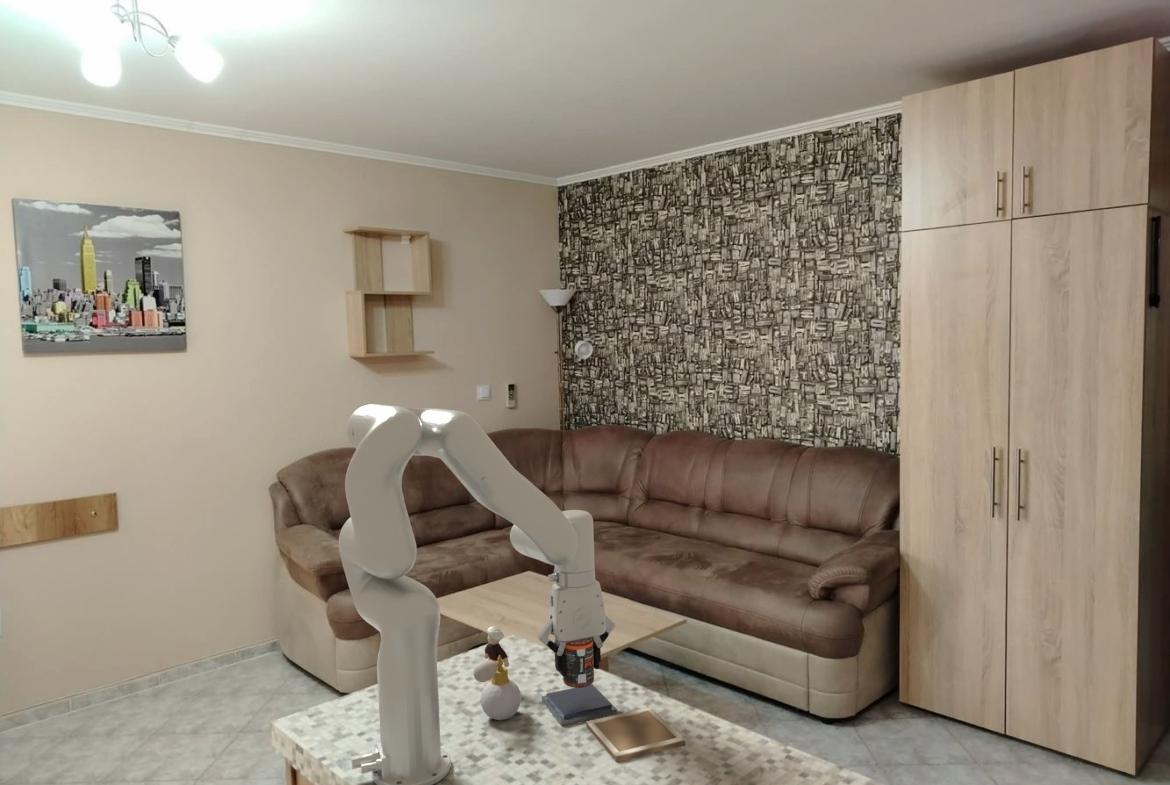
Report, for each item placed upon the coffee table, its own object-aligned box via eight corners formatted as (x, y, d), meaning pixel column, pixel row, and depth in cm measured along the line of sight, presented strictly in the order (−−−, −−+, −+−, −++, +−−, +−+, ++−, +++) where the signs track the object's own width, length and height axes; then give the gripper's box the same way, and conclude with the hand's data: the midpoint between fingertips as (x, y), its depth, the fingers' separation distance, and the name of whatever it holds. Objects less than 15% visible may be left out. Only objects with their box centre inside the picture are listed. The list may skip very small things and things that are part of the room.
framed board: (616, 761, 129) (615, 756, 129) (586, 726, 141) (586, 721, 141) (685, 744, 134) (685, 739, 134) (650, 712, 146) (650, 707, 146)
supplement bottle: (591, 690, 145) (589, 630, 144) (560, 688, 146) (557, 629, 146) (597, 676, 151) (595, 619, 150) (567, 674, 152) (564, 617, 151)
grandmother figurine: (475, 687, 159) (473, 626, 158) (488, 680, 162) (486, 620, 161) (504, 696, 155) (502, 633, 154) (517, 689, 158) (515, 627, 157)
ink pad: (561, 726, 142) (561, 717, 142) (541, 701, 152) (541, 692, 152) (617, 714, 146) (616, 705, 146) (594, 690, 156) (593, 682, 156)
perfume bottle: (526, 708, 149) (524, 647, 148) (511, 733, 140) (509, 668, 139) (488, 705, 151) (486, 645, 150) (471, 730, 141) (469, 666, 140)
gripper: (538, 589, 141) (541, 686, 142) (625, 575, 147) (627, 668, 148) (525, 578, 148) (528, 671, 149) (608, 565, 154) (611, 654, 155)
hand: (578, 669), depth 149 cm, fingers closed on supplement bottle, 6 cm apart
